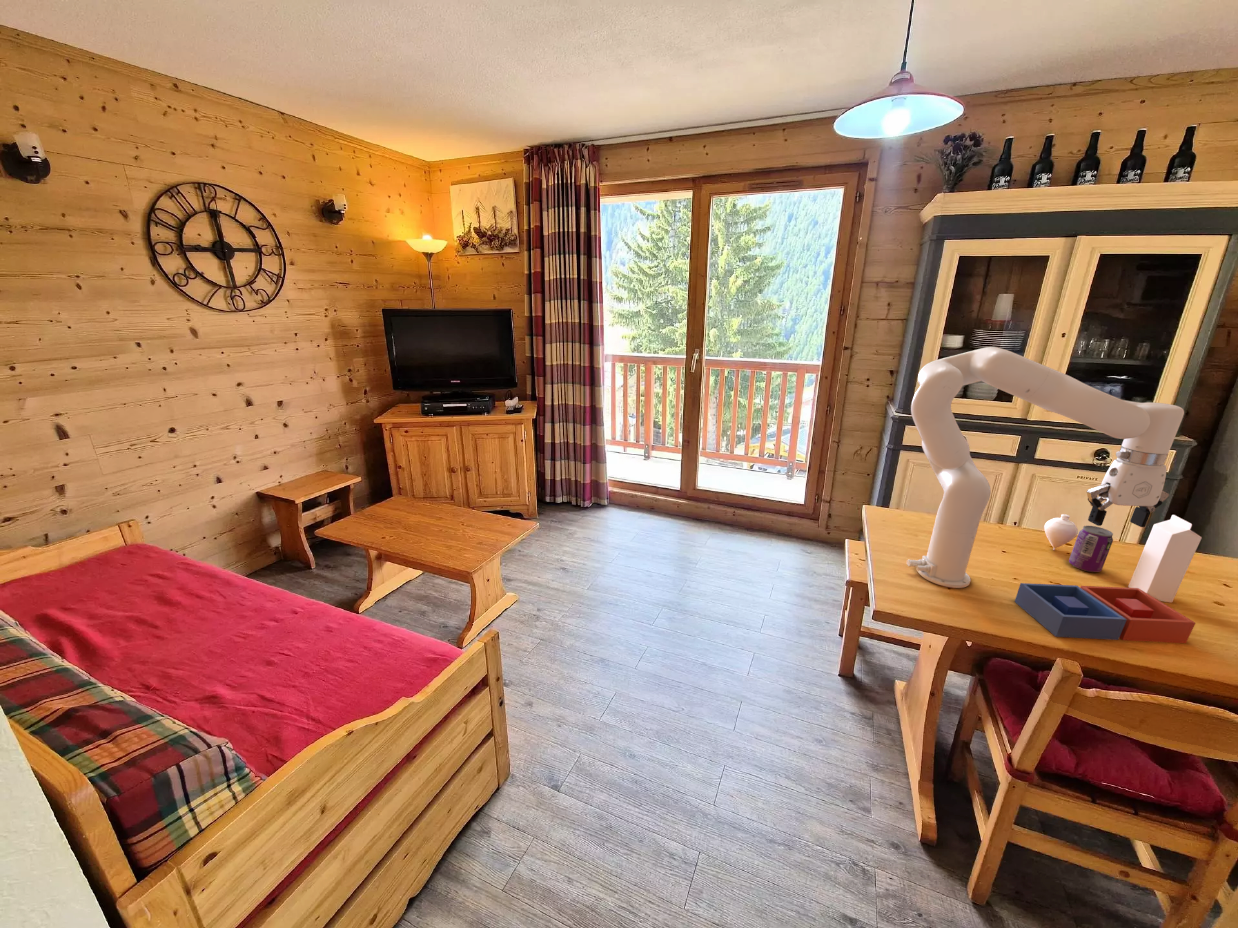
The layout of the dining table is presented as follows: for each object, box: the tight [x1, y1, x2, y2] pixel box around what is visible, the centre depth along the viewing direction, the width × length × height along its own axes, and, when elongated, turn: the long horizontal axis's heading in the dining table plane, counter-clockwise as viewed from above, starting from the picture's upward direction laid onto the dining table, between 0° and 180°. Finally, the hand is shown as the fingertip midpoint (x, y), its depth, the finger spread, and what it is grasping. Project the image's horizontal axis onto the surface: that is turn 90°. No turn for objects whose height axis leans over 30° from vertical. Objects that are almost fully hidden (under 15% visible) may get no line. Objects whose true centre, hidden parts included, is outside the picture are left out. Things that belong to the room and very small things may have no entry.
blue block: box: [1051, 596, 1089, 616], centre depth 116 cm, size 4×4×4 cm
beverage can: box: [1068, 525, 1114, 573], centre depth 138 cm, size 7×7×12 cm
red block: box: [1114, 598, 1154, 619], centre depth 115 cm, size 4×4×4 cm
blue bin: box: [1014, 582, 1127, 641], centre depth 116 cm, size 14×14×6 cm
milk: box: [1127, 514, 1202, 603], centre depth 124 cm, size 6×6×22 cm
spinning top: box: [1043, 513, 1079, 551], centre depth 148 cm, size 8×8×12 cm
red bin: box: [1079, 585, 1196, 644], centre depth 115 cm, size 14×14×6 cm
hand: (1115, 524), depth 117 cm, fingers open, 9 cm apart
